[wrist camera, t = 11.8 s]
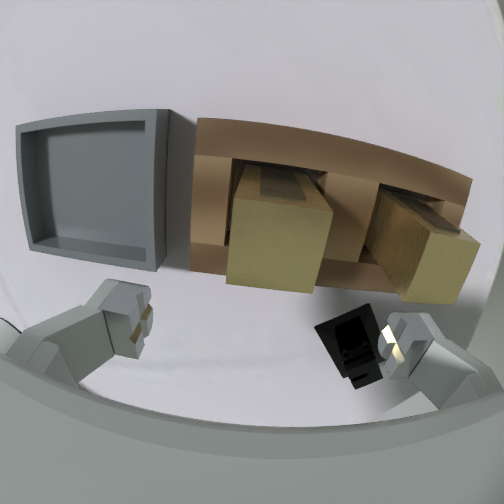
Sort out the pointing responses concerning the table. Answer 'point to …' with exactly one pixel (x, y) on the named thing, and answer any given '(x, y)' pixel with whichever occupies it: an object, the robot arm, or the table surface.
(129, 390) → the table surface
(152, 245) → the shallow grey tray
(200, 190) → the pallet
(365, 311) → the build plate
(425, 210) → the block
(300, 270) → the block
